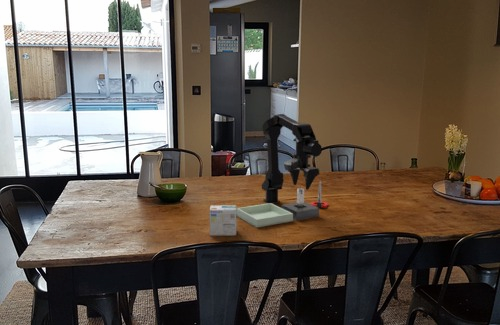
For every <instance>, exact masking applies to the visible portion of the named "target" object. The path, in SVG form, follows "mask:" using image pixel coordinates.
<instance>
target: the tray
mask: <svg viewBox="0 0 500 325" xmlns="http://www.w3.org/2000/svg"><path fill="white" fill-rule="evenodd" d="M236 215H237V218H239V219H241V220H243V221H244V222H246V223H248V224H249V225H251V226H253V227H254V228H256V229H258V228H262V227H269V226H274V225H279V224H285V223H286V224H287V223H291V222H294V219H293V213H291V212H289V211H286V210H284V209H282V207H281V206H278V205H276V204H275V203H262V204H257V205H256V204H255V205H249V206H244V207H243V206H241V207H236Z"/></svg>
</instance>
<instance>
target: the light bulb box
mask: <svg viewBox="0 0 500 325" xmlns="http://www.w3.org/2000/svg"><path fill="white" fill-rule="evenodd" d="M236 208H237V205H236V204H235V205H233V204H232V205H225V204H224V205H212V204H211V205H210V207H209V236H237V230H238V229H237V228H238V226H237V225H238V224H237V220H238V219H237V218H238V217H237V215H236Z"/></svg>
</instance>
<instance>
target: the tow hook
mask: <svg viewBox="0 0 500 325" xmlns="http://www.w3.org/2000/svg"><path fill="white" fill-rule="evenodd" d="M318 184H319V185H318V196H317V201H312V202H310V204H311V205H313V206H315V207H318V208H319V209H327V207H328V206H329V203H328V202H325V201H322V181H321V180H319V182H318Z"/></svg>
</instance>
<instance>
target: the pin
mask: <svg viewBox="0 0 500 325" xmlns="http://www.w3.org/2000/svg"><path fill="white" fill-rule="evenodd" d="M296 202H297V208H304V202H305V188H302V187H299V188H298V187H297V189H296Z"/></svg>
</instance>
